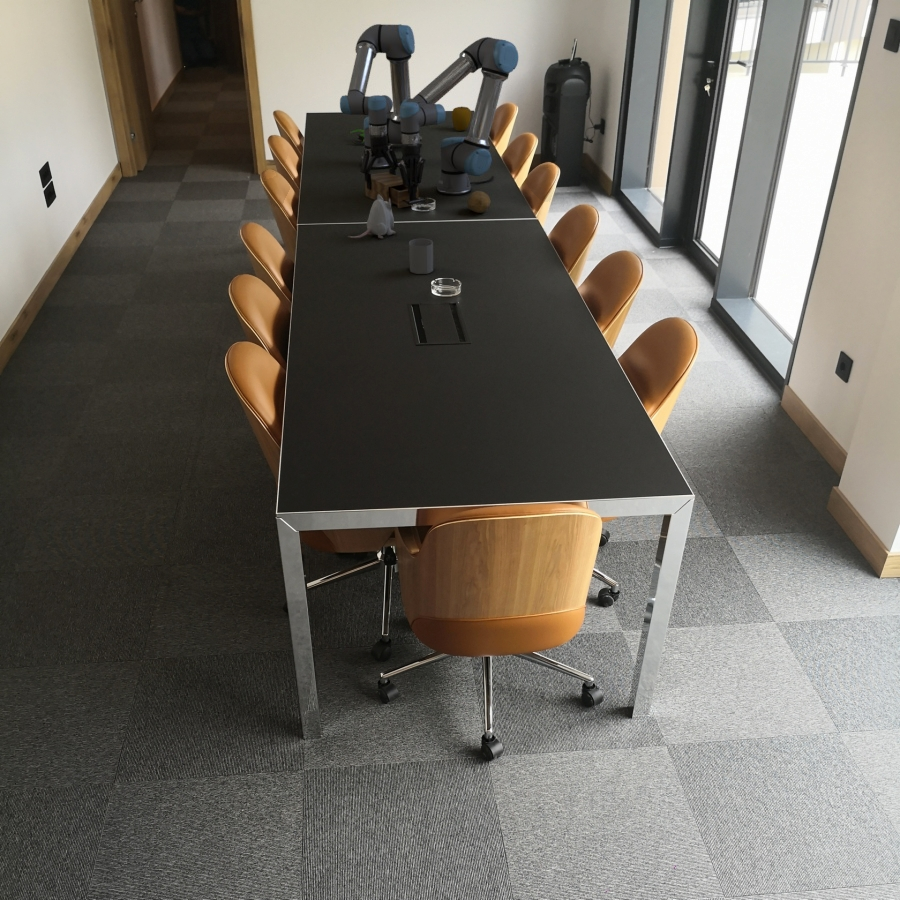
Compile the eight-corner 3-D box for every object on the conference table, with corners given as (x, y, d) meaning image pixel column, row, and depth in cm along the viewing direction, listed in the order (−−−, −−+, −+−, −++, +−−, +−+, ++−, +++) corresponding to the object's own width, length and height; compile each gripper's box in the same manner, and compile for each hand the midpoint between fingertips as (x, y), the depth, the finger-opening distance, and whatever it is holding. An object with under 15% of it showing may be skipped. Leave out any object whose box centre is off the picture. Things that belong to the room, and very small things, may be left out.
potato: (488, 206, 371) (488, 187, 367) (492, 216, 359) (492, 197, 355) (465, 206, 370) (465, 188, 366) (468, 217, 358) (468, 197, 354)
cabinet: (408, 201, 377) (408, 180, 373) (387, 205, 372) (386, 185, 367) (387, 191, 390) (386, 171, 385) (365, 196, 384) (364, 175, 379)
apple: (471, 132, 486) (471, 108, 479) (451, 132, 486) (451, 108, 479) (470, 128, 495) (471, 104, 488) (452, 128, 495) (452, 104, 488)
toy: (401, 233, 341) (400, 195, 333) (356, 248, 326) (354, 209, 318) (385, 228, 346) (384, 190, 338) (340, 243, 331) (337, 204, 323)
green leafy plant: (404, 126, 468) (348, 124, 466) (404, 141, 461) (347, 139, 459) (404, 135, 473) (349, 133, 471) (404, 150, 466) (348, 148, 463)
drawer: (426, 207, 367) (425, 191, 363) (406, 211, 362) (406, 195, 358) (397, 194, 382) (397, 179, 378) (378, 198, 377) (378, 183, 373)
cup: (409, 265, 311) (408, 238, 306) (432, 265, 312) (431, 238, 307) (410, 274, 304) (409, 246, 299) (433, 273, 305) (433, 246, 299)
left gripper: (359, 140, 362) (362, 192, 373) (406, 132, 373) (407, 183, 385) (350, 137, 367) (353, 188, 379) (396, 129, 378) (398, 180, 390)
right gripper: (402, 147, 347) (404, 206, 360) (429, 142, 353) (430, 200, 366) (392, 144, 352) (395, 201, 365) (418, 139, 358) (420, 196, 371)
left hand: (380, 186), depth 382 cm, fingers closed on cabinet, 11 cm apart
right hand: (412, 201), depth 365 cm, fingers closed
